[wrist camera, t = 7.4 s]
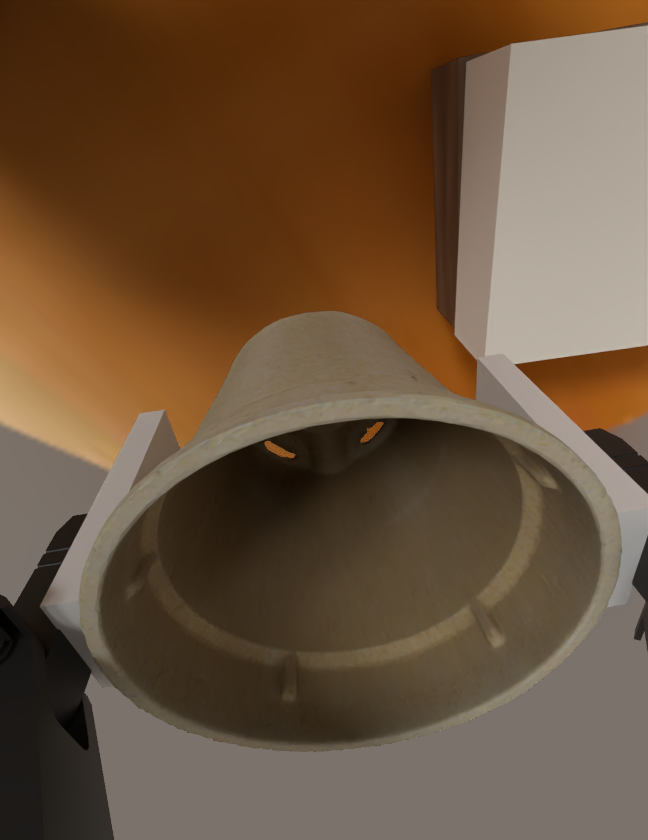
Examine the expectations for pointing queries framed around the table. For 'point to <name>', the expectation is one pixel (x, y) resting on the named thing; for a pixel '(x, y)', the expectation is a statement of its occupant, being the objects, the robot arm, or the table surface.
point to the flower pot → (346, 553)
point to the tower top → (555, 198)
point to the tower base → (450, 173)
